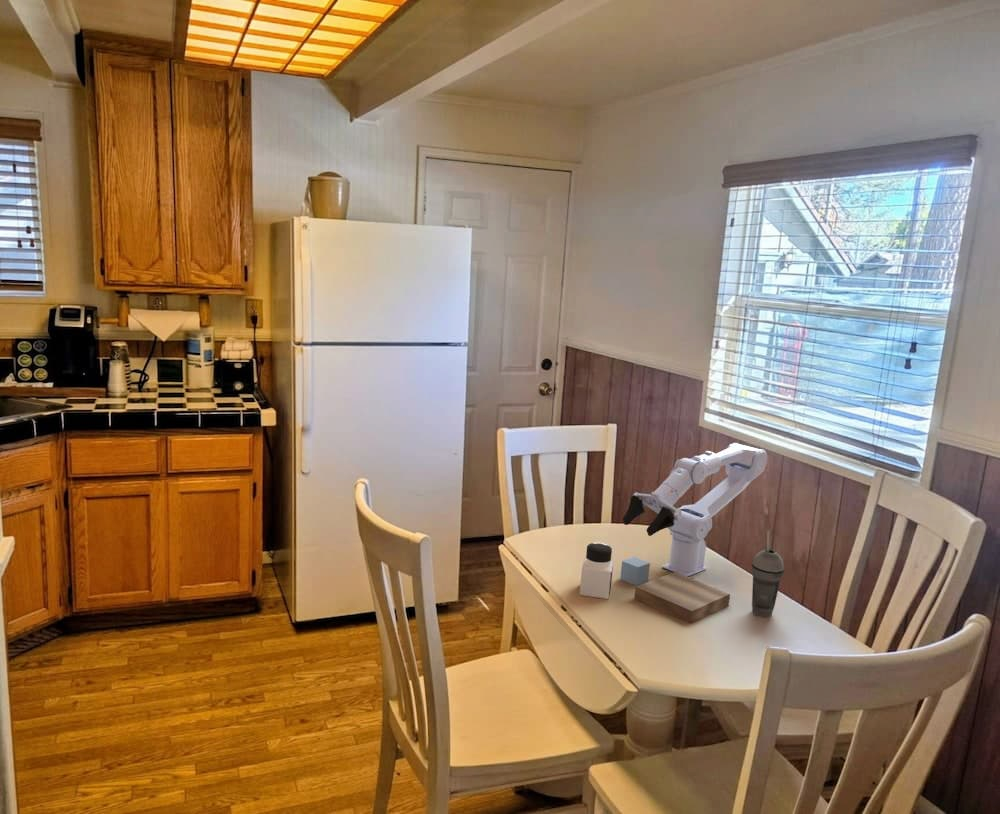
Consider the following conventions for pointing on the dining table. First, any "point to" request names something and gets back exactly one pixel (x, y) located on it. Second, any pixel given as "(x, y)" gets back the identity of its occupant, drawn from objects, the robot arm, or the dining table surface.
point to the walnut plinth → (682, 597)
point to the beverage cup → (766, 581)
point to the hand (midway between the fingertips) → (636, 527)
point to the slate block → (635, 571)
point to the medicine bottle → (597, 571)
